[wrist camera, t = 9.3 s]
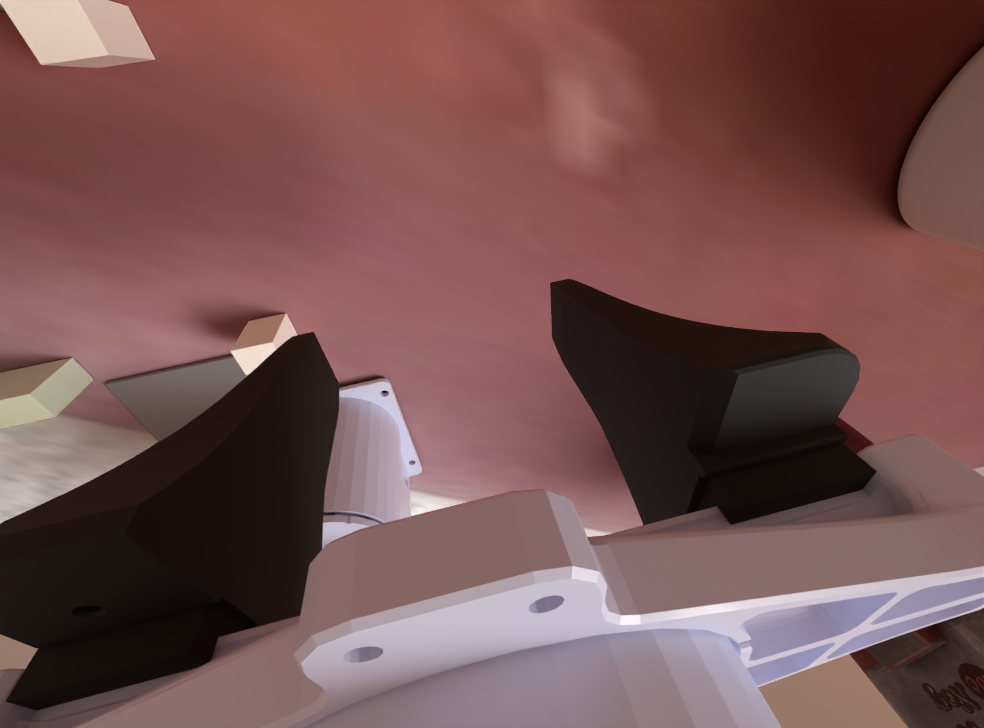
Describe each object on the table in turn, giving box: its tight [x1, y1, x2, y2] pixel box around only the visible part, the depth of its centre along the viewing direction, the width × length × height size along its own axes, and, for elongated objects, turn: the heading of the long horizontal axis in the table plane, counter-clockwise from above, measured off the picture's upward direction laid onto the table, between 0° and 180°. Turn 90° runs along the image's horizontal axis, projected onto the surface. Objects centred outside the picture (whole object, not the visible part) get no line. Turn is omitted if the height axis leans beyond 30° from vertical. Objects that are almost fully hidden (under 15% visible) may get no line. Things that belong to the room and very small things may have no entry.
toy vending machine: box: [834, 417, 984, 728], centre depth 27 cm, size 9×11×28 cm
